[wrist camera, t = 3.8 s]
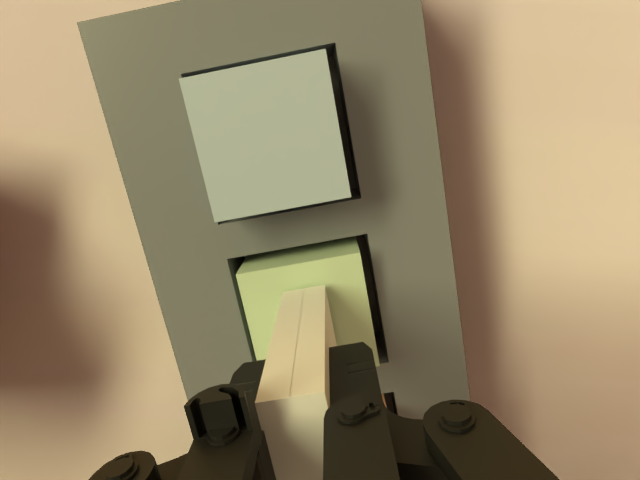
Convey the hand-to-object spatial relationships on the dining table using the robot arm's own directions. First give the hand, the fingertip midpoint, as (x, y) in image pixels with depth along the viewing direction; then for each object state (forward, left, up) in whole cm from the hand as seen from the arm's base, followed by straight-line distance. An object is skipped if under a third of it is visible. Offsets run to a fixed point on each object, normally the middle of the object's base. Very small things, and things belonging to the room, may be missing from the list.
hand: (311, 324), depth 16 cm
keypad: (0, -3, -4) cm, 5 cm away
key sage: (0, 0, -3) cm, 3 cm away
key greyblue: (0, +7, -2) cm, 7 cm away
